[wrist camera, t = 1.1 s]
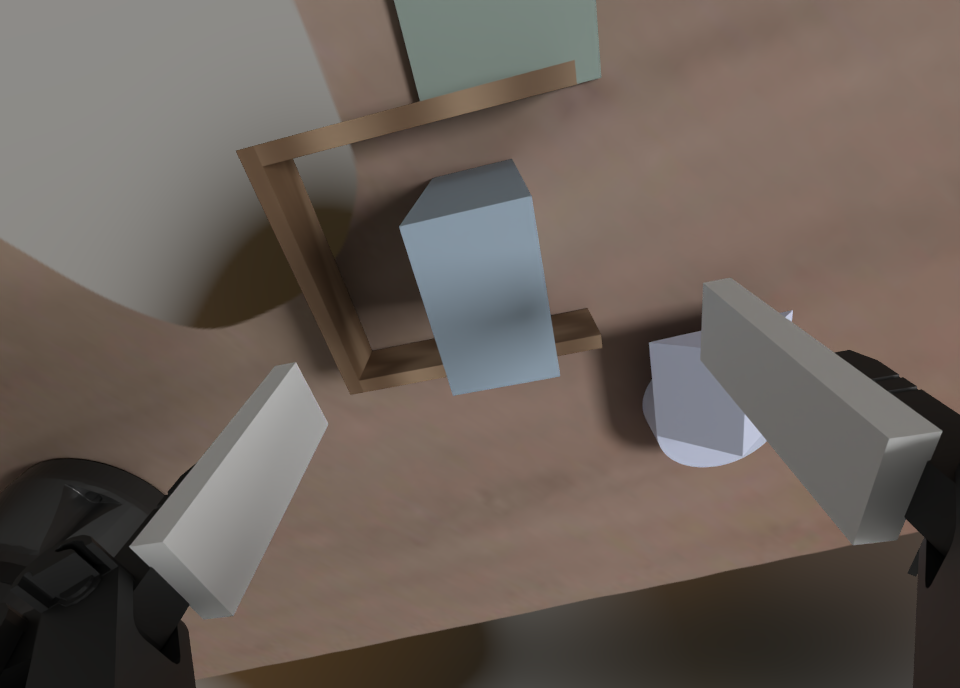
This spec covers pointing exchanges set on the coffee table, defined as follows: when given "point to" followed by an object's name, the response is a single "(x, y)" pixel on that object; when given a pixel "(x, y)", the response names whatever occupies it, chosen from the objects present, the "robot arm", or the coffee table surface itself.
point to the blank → (482, 278)
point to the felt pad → (495, 40)
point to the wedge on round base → (694, 407)
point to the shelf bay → (314, 258)
